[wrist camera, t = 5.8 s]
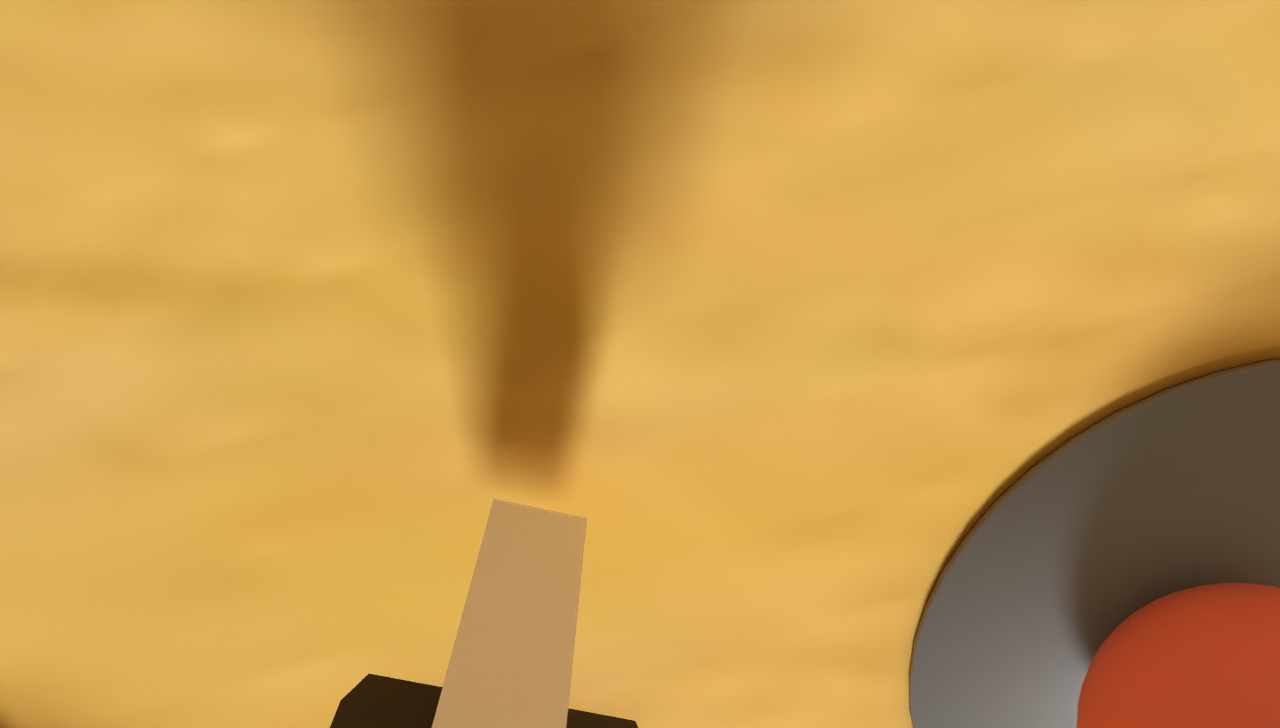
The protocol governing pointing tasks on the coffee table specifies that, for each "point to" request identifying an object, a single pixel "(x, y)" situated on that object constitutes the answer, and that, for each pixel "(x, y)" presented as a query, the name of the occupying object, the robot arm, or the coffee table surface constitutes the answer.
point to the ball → (1190, 663)
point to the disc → (1101, 549)
